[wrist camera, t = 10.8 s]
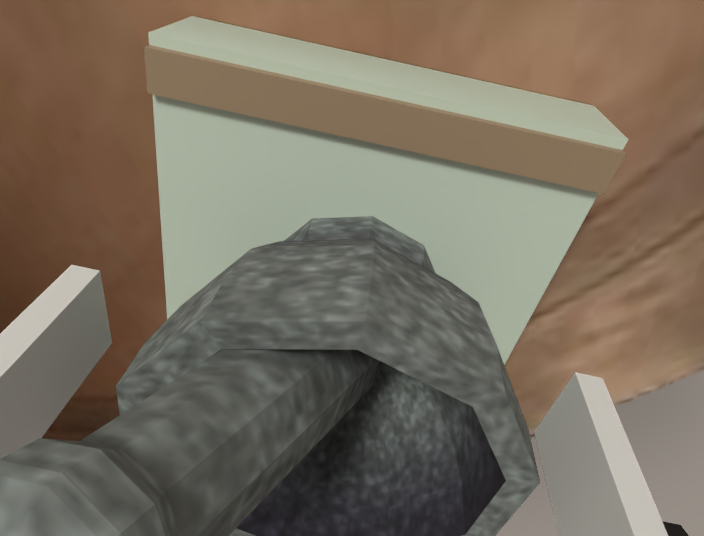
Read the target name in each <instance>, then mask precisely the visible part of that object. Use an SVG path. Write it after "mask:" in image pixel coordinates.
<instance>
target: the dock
mask: <svg viewBox="0 0 704 536" xmlns="http://www.w3.org/2000/svg"><path fill="white" fill-rule="evenodd" d="M148 34H149V45H148V46H145V47H144V55H145V69H146V82H147V93H148V94H152V95H153V110H154V125H155V140H156V155H157V170H158V185H159V200H160V216H161V231H162V246H163V261H164V276H165V291H166V306H167V319H168V318H169V317H170V316H171V315H172V314H173V313H174V312H175V311H176V310H177V309H178V308H179V307H180V306H181V305H182V304H184V303H185V302H186V301H187V300H189V299H190V298H191V297H192V296H193V295H195V294H196V293H197V292H198V291H200V290H201V289H202V288H203V287H205V286H206V285H207V284H208V283H209V282H211V281H212V280H213V279H214V278H216V277H217V276H218V275H219V274H221V273H222V272H223V271H224V270H226V269H227V268H228V267H229V266H230V265H232V264H233V263H234V262H235V261H237V260H238V259H239V258H240V257H242V256H243V255H244V254H245V253H246V252H248V251H249V250H250V249H251V248H255V247H259V246H263V245H267V244H271V243H275V242H279V241H284V240H285V239H287V238H288V237H289V236H291V235H292V234H293V233H294V232H296V231H297V230H298V229H300V228H301V227H302V226H303V225H305V224H306V223H307V222H308V221H310V220H311V219H313V218H338V217H363V216H373V217H375V218H377V219H378V220H380V221H382V222H384V223H386V224H387V225H389V226H391V227H393V228H394V229H396V230H398V231H400V232H401V233H403V234H405V235H407V236H408V237H410V238H412V239H414V240H415V241H417V242H419V243H421V244H423V245H424V247H425V249H426V252H427V254H428V256H429V259H430V261H431V263H432V266H433V268H434V271H435V273H436V274H437V275H439V276H441V277H443V278H445V279H446V280H448V281H450V282H452V283H453V284H454V285H456V286H457V287H458V288H460V289H461V290H462V291H464V292H465V293H467V294H468V295H469V296H471V297H472V298H473V299H475V300H476V301H477V302H479V305H480V307H481V309H482V312H483V314H484V316H485V319H486V321H487V323H488V326H489V328H490V330H491V333H492V335H493V337H494V340H495V342H496V344H497V347H498V350H499V353H500V355H501V358H502V361H503V363H504V364H505V363H506V361H507V359H508V357H509V355H510V354H511V352H512V350H513V348H514V346H515V344H516V343H517V341H518V339H519V337H520V335H521V334H522V332H523V330H524V328H525V326H526V324H527V323H528V321H529V319H530V317H531V315H532V314H533V312H534V310H535V308H536V306H537V304H538V303H539V301H540V299H541V297H542V295H543V294H544V292H545V290H546V288H547V286H548V285H549V283H550V281H551V279H552V277H553V275H554V274H555V272H556V270H557V268H558V266H559V265H560V263H561V261H562V259H563V257H564V255H565V254H566V252H567V250H568V248H569V246H570V245H571V243H572V241H573V239H574V237H575V235H576V234H577V232H578V230H579V228H580V226H581V225H582V223H583V221H584V219H585V217H586V215H587V214H588V212H589V210H590V208H591V206H592V205H593V203H594V201H595V199H596V197H597V196H598V194H599V193H601V194H605V192H606V190H607V188H608V187H609V185H610V183H611V181H612V179H613V178H614V176H615V174H616V172H617V170H618V169H619V167H620V165H621V163H622V161H623V160H624V158H625V156H626V153H625V152H624V151H623V148H624V146H625V145H626V143H627V141H628V139H627V138H626V137H625V136H624V135H623V134H622V133H621V132H620V131H619V130H618V129H617V128H616V127H615V126H614V125H613V124H612V123H611V122H610V121H609V120H608V119H607V118H606V117H605V116H604V115H603V114H602V113H601V112H600V111H599V110H598V109H597V108H596V107H595V106H592V105H588V104H583V103H579V102H574V101H570V100H565V99H561V98H556V97H552V96H547V95H543V94H538V93H534V92H529V91H525V90H520V89H516V88H512V87H507V86H503V85H498V84H494V83H489V82H485V81H480V80H476V79H471V78H467V77H462V76H458V75H453V74H449V73H444V72H440V71H436V70H431V69H427V68H422V67H418V66H413V65H409V64H404V63H400V62H395V61H391V60H386V59H382V58H377V57H373V56H368V55H364V54H360V53H355V52H351V51H346V50H342V49H337V48H333V47H328V46H324V45H319V44H315V43H310V42H306V41H301V40H297V39H292V38H288V37H284V36H279V35H275V34H270V33H266V32H261V31H257V30H252V29H248V28H243V27H239V26H234V25H230V24H225V23H221V22H216V21H212V20H207V19H203V18H199V17H194V16H191V17H189V18H186V19H183V20H181V21H178V22H175V23H173V24H170V25H167V26H165V27H162V28H159V29H157V30H154V31H151V32H149V33H148Z"/></svg>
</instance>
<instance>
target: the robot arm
mask: <svg viewBox="0 0 704 536" xmlns="http://www.w3.org/2000/svg"><path fill="white" fill-rule="evenodd" d="M111 343H112V340H111V334H110V328H109V322H108V316H107V310H106V304H105V298H104V292H103V286H102V280H101V274H100V271H99V270H94V269H89V268H85V267H80V266H75V265H71V266H70V267H69V268H68V269H67V270H66V271H65V272H64V273H63V274H62V275H61V276H59V277H58V278H57V279H56V280H55V281H54V282H53V283H52V284H51V285H50V286H49V287H48V288H47V289H46V290H45V291H44V292H43V293H42V294H41V295H40V296H39V297H38V298H37V299H36V300H35V301H34V302H33V303H31V304H30V305H29V306H28V307H27V308H26V309H25V310H24V311H23V312H22V313H21V314H20V315H19V316H18V317H17V318H16V319H15V320H14V321H13V322H12V323H11V324H10V325H9V326H8V327H7V328H6V329H5V330H4V331H2V332H1V333H0V459H1V458H3V457H5V456H7V455H9V454H11V453H12V452H14V451H16V450H18V449H20V448H22V447H24V446H26V445H28V444H29V443H31V442H33V441H35V440H37V439H39V438H42V436H43V435H44V434H45V432H46V431H47V430H48V428H49V427H50V426H51V424H52V423H53V422H54V420H55V419H56V418H57V416H58V415H59V414H60V412H61V411H62V410H63V408H64V407H65V405H66V404H67V403H68V401H69V400H70V399H71V397H72V396H73V395H74V393H75V392H76V391H77V389H78V388H79V387H80V385H81V384H82V383H83V381H84V380H85V378H86V377H87V376H88V374H89V373H90V372H91V370H92V369H93V368H94V366H95V365H96V364H97V362H98V361H99V360H100V358H101V357H102V356H103V354H104V353H105V352H106V350H107V349H108V347H109V346H110V345H111ZM534 434H535V438H536V442H537V446H538V451H539V455H540V459H541V463H542V468H543V472H544V476H545V480H546V485H547V489H548V493H549V497H550V502H551V506H552V510H553V514H554V519H555V523H556V527H557V531H558V536H688V534H687V533H686V532H685V530H684V529H683V528H682V526H681V525H677V524H672V523H667V522H663V521H662V520H661V517H660V515H659V512H658V510H657V508H656V505H655V503H654V501H653V498H652V496H651V493H650V491H649V489H648V486H647V484H646V481H645V479H644V476H643V474H642V472H641V469H640V467H639V465H638V462H637V460H636V457H635V455H634V452H633V450H632V448H631V445H630V443H629V440H628V438H627V436H626V433H625V431H624V429H623V426H622V424H621V421H620V419H619V416H618V414H617V412H616V409H615V407H614V405H613V402H612V400H611V397H610V395H609V393H608V390H607V388H606V385H605V383H604V381H603V378H599V377H595V376H590V375H585V374H581V373H576V372H575V373H574V375H573V376H572V378H571V379H570V381H569V382H568V384H567V385H566V386H565V388H564V389H563V391H562V392H561V394H560V395H559V397H558V398H557V399H556V401H555V402H554V404H553V405H552V407H551V408H550V410H549V411H548V413H547V414H546V415H545V417H544V418H543V420H542V421H541V423H540V424H539V426H538V427H537V428H536V430H535V431H534Z"/></svg>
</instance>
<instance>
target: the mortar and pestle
mask: <svg viewBox="0 0 704 536" xmlns="http://www.w3.org/2000/svg"><path fill="white" fill-rule="evenodd" d="M116 391H117V398H118V405H119V412H120V416H118V417H117V418H115V419H113V420H112V421H110V422H109V423H107V424H106V425H104V426H102V427H101V428H99V429H98V430H96V431H95V432H93V433H92V434H90V435H88V436H87V437H85V438H84V439H82V440H81V441H69V440H56V439H43V438H39V439H37V440H35V441H33V442H31V443H29V444H28V445H26V446H24V447H22V448H20V449H18V450H16V451H14V452H12V453H11V454H9V455H7V456H5V457H3V458H1V459H0V536H495V535H496V534H497V533H498V532H499V531H500V529H501V528H502V527H503V526H504V525H505V523H506V522H507V521H508V520H509V519H510V517H511V516H512V515H513V514H514V513H515V512H516V510H517V509H518V508H519V507H520V506H521V504H522V503H523V502H524V501H525V500H526V498H527V497H528V496H529V495H530V494H531V493H532V491H533V490H534V489H535V488H536V487H537V485H538V484H539V483H540V480H539V475H538V471H537V466H536V462H535V458H534V453H533V448H532V444H531V439H530V435H529V430H528V428H527V425H526V422H525V420H524V417H523V414H522V412H521V409H520V406H519V404H518V401H517V398H516V395H515V393H514V390H513V387H512V385H511V382H510V379H509V377H508V374H507V371H506V369H505V366H504V363H503V361H502V358H501V355H500V353H499V350H498V347H497V344H496V342H495V340H494V337H493V335H492V333H491V330H490V328H489V326H488V323H487V321H486V319H485V316H484V314H483V312H482V309H481V307H480V305H479V302H477V301H476V300H475V299H473V298H472V297H471V296H469V295H468V294H467V293H465V292H464V291H462V290H461V289H460V288H458V287H457V286H456V285H454V284H453V283H452V282H450V281H448V280H446V279H445V278H443V277H441V276H439V275H437V274H436V273H435V271H434V268H433V266H432V263H431V261H430V259H429V256H428V254H427V252H426V249H425V247H424V245H423V244H421V243H419V242H417V241H415V240H414V239H412V238H410V237H408V236H407V235H405V234H403V233H401V232H400V231H398V230H396V229H394V228H393V227H391V226H389V225H387V224H386V223H384V222H382V221H380V220H378V219H377V218H375V217H373V216H363V217H338V218H313V219H311V220H310V221H308V222H307V223H306V224H305V225H303V226H302V227H301V228H300V229H298V230H297V231H296V232H294V233H293V234H292V235H291V236H289V237H288V238H287V239H285V240H284V241H279V242H275V243H271V244H267V245H263V246H259V247H255V248H251V249H250V250H249V251H248V252H246V253H245V254H244V255H243V256H242V257H240V258H239V259H238V260H237V261H235V262H234V263H233V264H232V265H230V266H229V267H228V268H227V269H226V270H224V271H223V272H222V273H221V274H219V275H218V276H217V277H216V278H214V279H213V280H212V281H211V282H209V283H208V284H207V285H206V286H205V287H203V288H202V289H201V290H200V291H198V292H197V293H196V294H195V295H193V296H192V297H191V298H190V299H189V300H187V301H186V302H185V303H184V304H182V305H181V306H180V307H179V308H178V309H177V310H176V311H175V312H174V313H173V314H172V315H171V316H170V317H169V318H168V319H167V320H166V321H165V323H164V324H163V325H162V326H161V327H160V328H159V329H158V330H157V331H156V332H155V333H154V334H153V335H152V336H151V337H150V338H149V339H148V340H147V341H146V342H145V343H144V345H143V346H142V348H141V349H140V351H139V352H138V354H137V355H136V357H135V358H134V360H133V361H132V363H131V364H130V366H129V367H128V369H127V370H126V372H125V373H124V375H123V376H122V378H121V379H120V381H119V382H118V384H117V385H116Z"/></svg>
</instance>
